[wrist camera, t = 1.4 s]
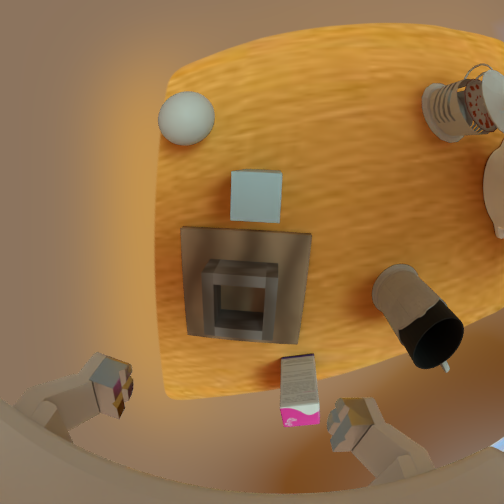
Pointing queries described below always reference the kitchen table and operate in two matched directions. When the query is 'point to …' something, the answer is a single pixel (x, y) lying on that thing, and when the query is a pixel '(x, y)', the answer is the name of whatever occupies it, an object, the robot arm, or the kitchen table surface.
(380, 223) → the kitchen table surface
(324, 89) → the kitchen table surface
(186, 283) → the socket
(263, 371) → the kitchen table surface
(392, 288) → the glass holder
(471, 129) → the french press
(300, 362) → the supplement box
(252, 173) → the peg
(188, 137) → the lightbulb
